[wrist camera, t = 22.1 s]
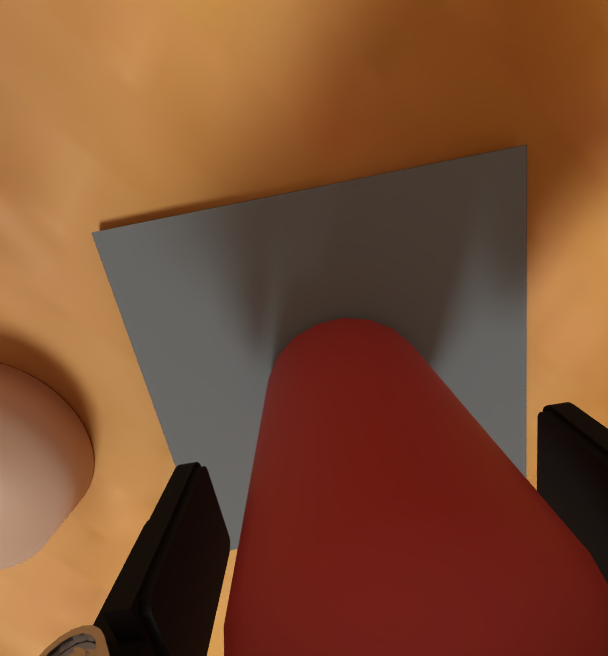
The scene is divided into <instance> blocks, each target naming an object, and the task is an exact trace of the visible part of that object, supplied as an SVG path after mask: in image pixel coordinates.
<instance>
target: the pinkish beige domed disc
mask: <svg viewBox="0 0 608 656" xmlns="http://www.w3.org/2000/svg"><path fill="white" fill-rule="evenodd" d="M93 471H94V456H93V449H92V446H91V442H90V439H89V436H88V434H87V432H86V430H85V428H84V426H83V424H82V423H81V421H80V419H79V418H78V416H77V415H76V413H75V412H74V411H73V410H72V408H71V407H70V406H69V405H68V404H67V403H66V402H65V401H64V400H63V399H62V398H61V397H60V396H59V395H58V394H57V393H56V392H54V391H53V390H52V389H51V388H50V387H48V386H47V385H45V384H44V383H42V382H41V381H39V380H38V379H36V378H34V377H32V376H31V375H29V374H27V373H25V372H23V371H20V370H18V369H16V368H13V367H11V366H7V365H4V364H1V363H0V570H2V569H6V568H9V567H13V566H15V565H18V564H20V563H23V562H24V561H26V560H28V559H30V558H31V557H33V556H34V555H35V554H36V553H38V552H39V551H40V550H41V549H42V548H43V546H44V545H45V544H46V543H47V542H48V540H49V539H50V538H51V537H52V535H53V534H54V533H55V532H56V530H57V529H58V528H59V527H60V525H61V524H62V523H63V522H64V520H65V519H66V518H67V517H68V515H69V514H70V513H71V512H72V510H73V509H74V508H75V507H76V505H77V504H78V503H79V502H80V500H81V499H82V498H83V497H84V495H85V494H86V492H87V490H88V488H89V486H90V483H91V481H92V477H93Z"/></svg>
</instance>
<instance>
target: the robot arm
mask: <svg viewBox="0 0 608 656" xmlns="http://www.w3.org/2000/svg"><path fill="white" fill-rule="evenodd" d="M537 492H538V493H539V494H540V495H541V496H542V498H543V499H544V500H545V501H546V502H547V503H548V505H549V506H550V507H551V508H552V509H553V510H554V512H555V513H556V514H557V515H558V516H559V517H560V519H561V520H562V521H563V522H564V523H565V524H566V526H567V527H568V528H569V529H570V530H571V532H572V533H573V534H574V535H575V536H576V537H577V539H578V540H579V541H580V542H581V543H582V544H583V546H584V547H585V548H586V549H587V550H588V551H589V553H590V554H591V556H592V558H593V559H594V561H595V563H596V565H597V566H598V568H599V570H600V572H601V573H602V575H603V577H604V579H605V580H606V582H607V584H608V429H607V428H606V427H605V426H603V425H602V424H600V423H599V422H597V421H596V420H595V419H593V418H592V417H590V416H589V415H588V414H586V413H585V412H583V411H582V410H581V409H579V408H578V407H576V406H575V405H574V404H572V403H569V402H566V403H559V404H553V405H547V406H545V407H544V409H543V412H540V413H539V414H538V434H537ZM229 552H230V537H229V534H228V530H227V527H226V524H225V521H224V518H223V515H222V512H221V509H220V506H219V503H218V500H217V497H216V494H215V491H214V488H213V485H212V481H211V478H210V475H209V472H208V469H207V467H206V466H201V465H200V463H199V462H193V463H186V464H180V465H178V466H177V467H176V468H175V470H174V472H173V474H172V476H171V478H170V480H169V482H168V484H167V486H166V488H165V490H164V492H163V494H162V496H161V498H160V500H159V502H158V503H157V505H156V507H155V509H154V511H153V513H152V515H151V517H150V519H149V520H148V521H147V522H146V524H145V525H144V527H143V529H142V531H141V533H140V535H139V537H138V539H137V541H136V543H135V545H134V546H133V548H132V550H131V552H130V554H129V556H128V558H127V560H126V562H125V564H124V566H123V568H122V570H121V572H120V574H119V576H118V578H117V580H116V581H115V583H114V585H113V587H112V589H111V591H110V593H109V595H108V597H107V599H106V601H105V603H104V605H103V607H102V609H101V611H100V613H99V615H98V617H97V618H96V620H95V622H94V624H93V625H86V626H81V627H78V628H75V629H72V630H70V631H69V632H67V633H65V634H64V635H62V636H60V637H59V638H58V639H56V640H55V641H54V642H53V643H52V644H50V645H49V646H48V647H47V648H46V649H45V650H44V651H43V652H42V653H41V655H40V656H207V652H208V647H209V643H210V638H211V634H212V629H213V625H214V620H215V616H216V611H217V607H218V602H219V598H220V593H221V589H222V584H223V580H224V575H225V571H226V566H227V562H228V557H229Z"/></svg>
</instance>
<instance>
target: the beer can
mask: <svg viewBox="0 0 608 656" xmlns="http://www.w3.org/2000/svg"><path fill="white" fill-rule="evenodd" d="M224 656H608V584H607V582H606V580H605V579H604V577H603V575H602V573H601V572H600V570H599V568H598V566H597V565H596V563H595V561H594V559H593V558H592V556H591V554H590V553H589V551H588V550H587V549H586V548H585V547H584V546H583V544H582V543H581V542H580V541H579V540H578V539H577V537H576V536H575V535H574V534H573V533H572V532H571V530H570V529H569V528H568V527H567V526H566V524H565V523H564V522H563V521H562V520H561V519H560V517H559V516H558V515H557V514H556V513H555V512H554V510H553V509H552V508H551V507H550V506H549V505H548V503H547V502H546V501H545V500H544V499H543V498H542V496H541V495H540V494H539V493H538V492H537V491H536V489H535V488H534V487H533V486H532V485H531V484H530V482H529V481H528V480H527V479H526V478H525V476H524V475H523V474H522V473H521V472H520V471H519V469H518V468H517V467H516V466H515V465H514V464H513V462H512V461H511V460H510V459H509V458H508V457H507V455H506V454H505V453H504V452H503V451H502V450H501V448H500V447H499V446H498V445H497V444H496V443H495V441H494V440H493V439H492V438H491V437H490V435H489V434H488V433H487V432H486V431H485V430H484V428H483V427H482V426H481V425H480V424H479V423H478V421H477V420H476V419H475V418H474V417H473V416H472V414H471V413H470V412H469V411H468V410H467V409H466V407H465V406H464V405H463V404H462V403H461V402H460V400H459V399H458V398H457V397H456V396H455V395H454V393H453V392H452V391H451V390H450V389H449V387H448V386H447V385H446V384H445V383H444V382H443V380H442V379H441V378H440V377H439V376H438V375H437V373H436V372H435V371H434V370H433V369H432V368H431V366H430V365H429V364H428V363H427V362H426V361H425V359H424V358H423V357H422V356H421V355H420V354H419V352H418V351H417V350H416V349H415V348H414V346H413V345H412V344H411V343H409V342H408V341H407V340H406V339H405V338H403V337H402V336H401V335H400V334H399V333H397V332H396V331H395V330H394V329H392V328H390V327H387V326H385V325H382V324H379V323H377V322H374V321H371V320H369V319H351V318H340V319H336V320H332V321H328V322H324V323H320V324H316V325H314V326H313V327H311V328H309V329H308V330H306V331H305V332H303V333H301V334H300V335H298V336H296V337H295V338H293V339H292V341H291V342H290V343H289V344H288V345H287V346H286V348H285V349H284V350H283V351H282V352H281V353H280V355H279V356H278V357H277V359H276V361H275V364H274V366H273V369H272V371H271V374H270V376H269V379H268V384H267V389H266V395H265V401H264V406H263V412H262V417H261V423H260V428H259V434H258V439H257V445H256V451H255V456H254V462H253V467H252V473H251V478H250V484H249V489H248V495H247V501H246V506H245V512H244V517H243V523H242V528H241V534H240V539H239V545H238V551H237V556H236V562H235V567H234V573H233V578H232V584H231V589H230V595H229V601H228V606H227V612H226V617H225V623H224Z"/></svg>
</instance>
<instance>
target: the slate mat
mask: <svg viewBox="0 0 608 656" xmlns="http://www.w3.org/2000/svg"><path fill="white" fill-rule="evenodd" d="M92 236H93V238H94V241H95V244H96V247H97V250H98V252H99V255H100V258H101V261H102V263H103V266H104V269H105V272H106V275H107V277H108V280H109V283H110V286H111V288H112V291H113V294H114V297H115V300H116V302H117V305H118V308H119V311H120V313H121V316H122V319H123V322H124V325H125V327H126V330H127V333H128V336H129V338H130V341H131V344H132V347H133V350H134V352H135V355H136V358H137V361H138V363H139V366H140V369H141V372H142V375H143V377H144V380H145V383H146V386H147V388H148V391H149V394H150V397H151V399H152V402H153V405H154V408H155V411H156V413H157V416H158V419H159V422H160V424H161V427H162V430H163V433H164V436H165V438H166V441H167V444H168V447H169V449H170V452H171V455H172V458H173V461H174V463H175V466H176V467H177V466H178V465H180V464H186V463H193V462H199V463H200V465H201V466H206V467H207V469H208V472H209V475H210V478H211V481H212V485H213V488H214V491H215V494H216V497H217V500H218V503H219V506H220V509H221V512H222V515H223V518H224V521H225V524H226V527H227V530H228V534H229V537H230V550H234V549H238V545H239V539H240V534H241V528H242V523H243V517H244V512H245V506H246V501H247V495H248V489H249V484H250V478H251V473H252V467H253V462H254V456H255V451H256V445H257V439H258V434H259V428H260V423H261V417H262V412H263V406H264V401H265V395H266V389H267V384H268V379H269V376H270V374H271V371H272V369H273V366H274V364H275V361H276V359H277V357H278V356H279V355H280V353H281V352H282V351H283V350H284V349H285V348H286V346H287V345H288V344H289V343H290V342H291V341H292V339H293V338H295V337H296V336H298V335H300V334H301V333H303V332H305V331H306V330H308V329H309V328H311V327H313V326H314V325H316V324H320V323H324V322H328V321H332V320H336V319H340V318H351V319H369V320H371V321H374V322H377V323H379V324H382V325H385V326H387V327H390V328H392V329H394V330H395V331H396V332H397V333H399V334H400V335H401V336H402V337H403V338H405V339H406V340H407V341H408V342H409V343H411V344H412V345H413V346H414V348H415V349H416V350H417V351H418V352H419V354H420V355H421V356H422V357H423V358H424V359H425V361H426V362H427V363H428V364H429V365H430V366H431V368H432V369H433V370H434V371H435V372H436V373H437V375H438V376H439V377H440V378H441V379H442V380H443V382H444V383H445V384H446V385H447V386H448V387H449V389H450V390H451V391H452V392H453V393H454V395H455V396H456V397H457V398H458V399H459V400H460V402H461V403H462V404H463V405H464V406H465V407H466V409H467V410H468V411H469V412H470V413H471V414H472V416H473V417H474V418H475V419H476V420H477V421H478V423H479V424H480V425H481V426H482V427H483V428H484V430H485V431H486V432H487V433H488V434H489V435H490V437H491V438H492V439H493V440H494V441H495V443H496V444H497V445H498V446H499V447H500V448H501V450H502V451H503V452H504V453H505V454H506V455H507V457H508V458H509V459H510V460H511V461H512V462H513V464H514V465H515V466H516V467H517V468H518V469H519V471H520V472H521V473H522V474H523V475H524V476H525V478H526V309H527V145H523V146H518V147H513V148H508V149H503V150H498V151H493V152H488V153H483V154H478V155H473V156H468V157H463V158H458V159H453V160H448V161H444V162H439V163H434V164H429V165H424V166H419V167H414V168H409V169H404V170H399V171H394V172H389V173H384V174H379V175H374V176H369V177H364V178H359V179H354V180H350V181H345V182H340V183H335V184H330V185H325V186H320V187H315V188H310V189H305V190H300V191H295V192H290V193H285V194H280V195H275V196H270V197H265V198H260V199H255V200H251V201H246V202H241V203H236V204H231V205H226V206H221V207H216V208H211V209H206V210H201V211H196V212H191V213H186V214H181V215H176V216H171V217H166V218H161V219H157V220H152V221H147V222H142V223H137V224H132V225H127V226H122V227H117V228H112V229H107V230H102V231H97V232H92Z"/></svg>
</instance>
